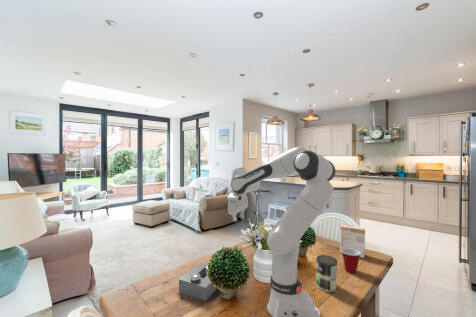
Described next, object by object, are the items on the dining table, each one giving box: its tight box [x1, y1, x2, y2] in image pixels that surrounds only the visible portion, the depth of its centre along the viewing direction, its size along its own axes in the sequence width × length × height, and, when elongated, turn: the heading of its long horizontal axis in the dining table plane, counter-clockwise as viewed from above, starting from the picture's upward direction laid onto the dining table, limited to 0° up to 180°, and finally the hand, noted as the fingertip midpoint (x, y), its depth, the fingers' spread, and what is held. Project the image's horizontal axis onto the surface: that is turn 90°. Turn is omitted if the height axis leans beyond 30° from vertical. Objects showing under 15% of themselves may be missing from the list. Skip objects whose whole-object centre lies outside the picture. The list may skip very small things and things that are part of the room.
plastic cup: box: [341, 248, 361, 274], centre depth 132 cm, size 11×11×12 cm
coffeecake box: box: [339, 223, 366, 259], centre depth 155 cm, size 15×7×20 cm, turn 58°
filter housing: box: [178, 262, 217, 302], centre depth 115 cm, size 18×16×6 cm
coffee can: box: [315, 254, 338, 293], centre depth 117 cm, size 10×10×14 cm
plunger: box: [191, 273, 200, 283], centre depth 109 cm, size 5×5×6 cm
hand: (238, 218), depth 130 cm, fingers open, 8 cm apart
